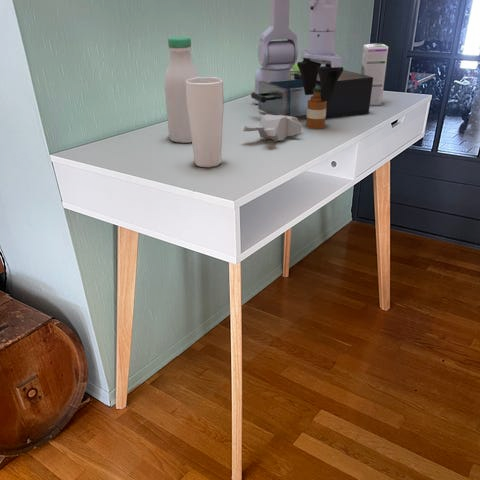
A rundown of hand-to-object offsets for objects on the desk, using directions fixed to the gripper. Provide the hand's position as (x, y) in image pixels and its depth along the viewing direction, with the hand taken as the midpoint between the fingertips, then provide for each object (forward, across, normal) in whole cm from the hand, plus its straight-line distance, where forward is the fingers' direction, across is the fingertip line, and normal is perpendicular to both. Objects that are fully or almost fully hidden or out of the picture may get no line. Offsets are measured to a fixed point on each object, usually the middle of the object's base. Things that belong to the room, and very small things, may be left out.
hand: (317, 97), depth 117 cm
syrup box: (+7, -16, +26) cm, 31 cm away
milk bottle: (+7, -3, -32) cm, 32 cm away
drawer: (+6, -12, -2) cm, 14 cm away
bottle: (+6, 0, 0) cm, 6 cm away
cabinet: (+6, -13, +12) cm, 18 cm away
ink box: (+7, -39, +14) cm, 42 cm away
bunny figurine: (+7, +6, -14) cm, 16 cm away
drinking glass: (+7, +16, -33) cm, 38 cm away
